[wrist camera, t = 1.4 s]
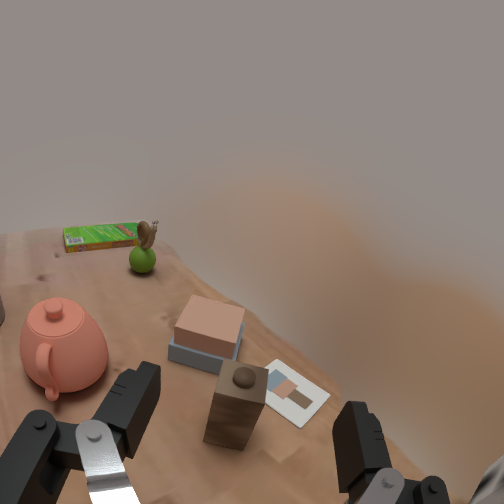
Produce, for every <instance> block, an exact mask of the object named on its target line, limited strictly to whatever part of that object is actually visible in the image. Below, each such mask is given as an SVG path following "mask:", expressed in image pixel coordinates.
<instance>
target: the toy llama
mask: <svg viewBox="0 0 504 504" xmlns="http://www.w3.org/2000/svg"><path fill="white" fill-rule="evenodd" d="M469 504H504V455H503V456H502V457H500V458H499V459H498V460H497V461H496V462H495V463H493V464H492V465H491V466H490V467H488V468H487V470H486V472H485V474H484V476H483V478H482V480H481V482H480V484H479V486H478V488H477V490H476V491H475V494H474V495H473V497H472V499H471V500H470V502H469Z"/></svg>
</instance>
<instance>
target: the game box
mask: <svg viewBox="0 0 504 504" xmlns="http://www.w3.org/2000/svg"><path fill="white" fill-rule="evenodd" d="M137 226H138V223H120V224H107V225H95V226H83V227H71V228H63V235H64V241H65V247H66V253H71V252H80V251H90V250H99V249H109V248H119V247H129V246H139V244H138V243H137V237H138V235H137V229H136V228H137Z"/></svg>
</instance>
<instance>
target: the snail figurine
mask: <svg viewBox="0 0 504 504" xmlns="http://www.w3.org/2000/svg"><path fill="white" fill-rule="evenodd" d="M152 223H153V224H155V221H153V222H152ZM156 223H158V221H156ZM156 232H157V226H151V227H149V225H148V224H147V223H146V222H145V221H141V222H139V224H138V226H137V235H138V237H137V243H138V244H139V246H137V247H135V248H134V249H133V250H132V251H131V253H130V256H129V262H130V265H131V267H132V268H133V269H134V270H135V271H137V272H139V273H146V272H148V271H150V270H151V269H152V268H153V267H154V265H155V262H156V256H155V253H154V251H153V250H152V249H151V247H152V245H153V243H154V240H155V234H156Z"/></svg>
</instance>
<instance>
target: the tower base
mask: <svg viewBox="0 0 504 504" xmlns="http://www.w3.org/2000/svg"><path fill="white" fill-rule="evenodd" d="M244 311H245V309H244V308H241V307H237V306H233V305H229V304H225V303H222V302H218V301H214V300H210V299H207V298H203V297H200V296H196V295H192V297H191V298H190V300H189V302H188V304H187V305H186V307H185V309H184V311H183V313H182V314H181V316H180V318H179V320H178V321H177V323H176V325H175V330H174V335H173V337H172V339H171V341H170V343H169V347H168V360H171V361H174V362H177V363H181V364H184V365H187V366H190V367H194V368H197V369H201V370H204V371H208V372H211V373H215V374H220V371H221V367H222V364H223V360H224V358H225V359H229V360H233V361H236V357H237V353H238V349H239V345H240V341H241V336H242V332H243V328H244V324H245V323H242V319H243V315H244Z"/></svg>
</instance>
